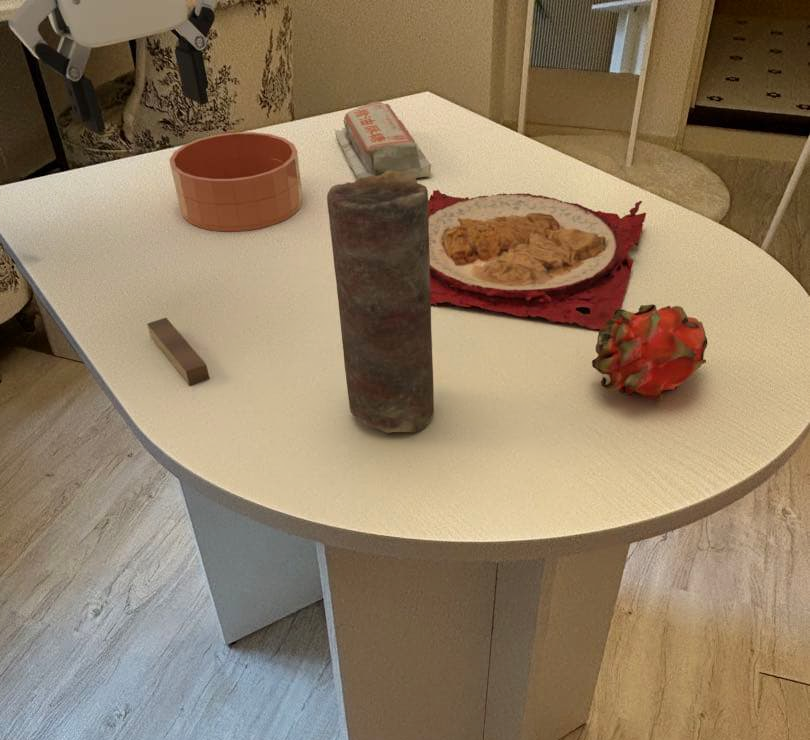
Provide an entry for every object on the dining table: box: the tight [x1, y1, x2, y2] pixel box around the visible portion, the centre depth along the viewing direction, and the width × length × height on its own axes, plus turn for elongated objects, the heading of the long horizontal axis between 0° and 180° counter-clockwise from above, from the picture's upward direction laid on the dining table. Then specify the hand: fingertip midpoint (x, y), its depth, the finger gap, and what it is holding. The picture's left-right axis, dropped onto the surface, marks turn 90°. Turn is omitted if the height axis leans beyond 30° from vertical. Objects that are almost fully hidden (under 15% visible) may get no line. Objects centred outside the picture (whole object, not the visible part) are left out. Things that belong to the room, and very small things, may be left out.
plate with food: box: [428, 189, 647, 331], centre depth 87 cm, size 24×26×3 cm
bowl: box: [169, 131, 303, 232], centre depth 98 cm, size 15×15×6 cm
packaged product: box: [334, 101, 432, 180], centre depth 108 cm, size 18×5×10 cm
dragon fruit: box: [591, 303, 708, 404], centre depth 69 cm, size 8×8×12 cm
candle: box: [326, 170, 435, 434], centre depth 63 cm, size 8×7×20 cm
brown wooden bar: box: [146, 317, 210, 386], centre depth 76 cm, size 10×2×2 cm, turn 33°
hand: (147, 114), depth 68 cm, fingers open, 9 cm apart
